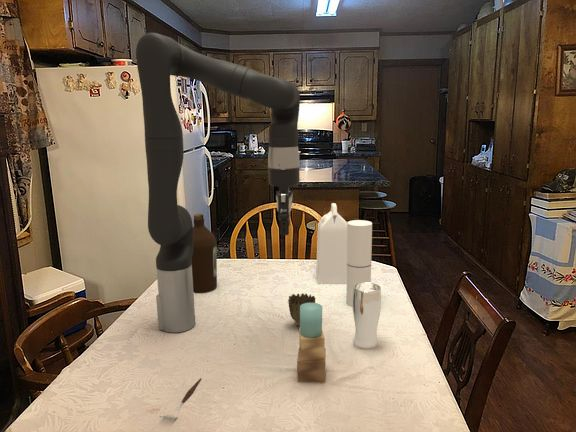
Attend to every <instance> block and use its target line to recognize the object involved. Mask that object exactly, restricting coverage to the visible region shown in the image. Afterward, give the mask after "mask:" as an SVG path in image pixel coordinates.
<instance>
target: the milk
mask: <svg viewBox="0 0 576 432" xmlns="http://www.w3.org/2000/svg"><path fill="white" fill-rule="evenodd" d="M347 222H348V221H346V219H345V218H343V217H342V215H341V214H339V212H338V206H337V204H336V202H335V203H334V202H332V203H331V204H330V211H329V212H327V213H325V214H324V215H323V216H322V217H321V218H320V220H319V222H318V223H317V237H316V241H317V242H316V243H317V244H316V272H315V273H316V280H317V285H347Z"/></svg>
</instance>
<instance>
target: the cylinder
mask: <svg viewBox="0 0 576 432" xmlns="http://www.w3.org/2000/svg"><path fill="white" fill-rule="evenodd" d="M299 328H300V334H301V335H302V336H304V337H307V338H315V337H319V336H320V335H321V334H322V331H323V306H322V304H320V303H316V302H315V303H304V304H302V305H301V306H300V327H299Z"/></svg>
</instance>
